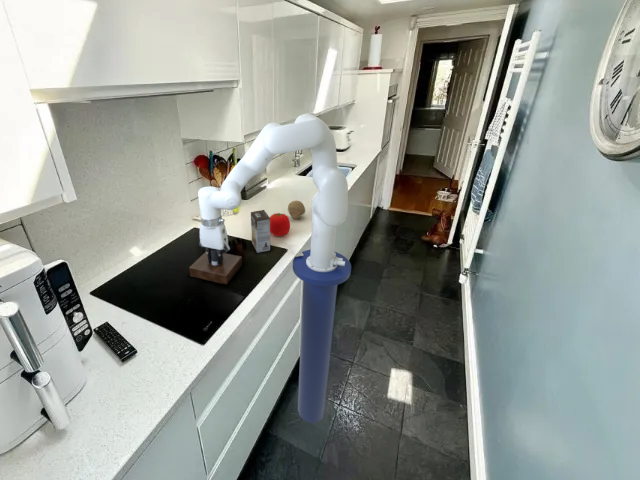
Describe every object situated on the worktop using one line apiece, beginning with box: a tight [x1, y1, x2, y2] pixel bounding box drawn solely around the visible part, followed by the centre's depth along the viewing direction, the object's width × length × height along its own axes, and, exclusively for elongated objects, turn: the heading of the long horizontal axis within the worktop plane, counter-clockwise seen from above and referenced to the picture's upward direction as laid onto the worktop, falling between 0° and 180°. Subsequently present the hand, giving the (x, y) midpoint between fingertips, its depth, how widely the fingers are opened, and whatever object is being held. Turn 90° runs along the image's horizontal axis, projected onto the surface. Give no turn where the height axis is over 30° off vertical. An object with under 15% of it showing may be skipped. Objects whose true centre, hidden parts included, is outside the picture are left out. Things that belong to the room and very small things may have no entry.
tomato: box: [269, 212, 291, 237], centre depth 146 cm, size 10×11×11 cm
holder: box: [188, 251, 243, 286], centre depth 122 cm, size 16×14×4 cm
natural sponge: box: [287, 200, 306, 220], centre depth 162 cm, size 9×9×10 cm
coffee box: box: [250, 209, 271, 254], centre depth 135 cm, size 9×6×16 cm
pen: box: [210, 248, 218, 265], centre depth 121 cm, size 3×3×9 cm
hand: (215, 261), depth 121 cm, fingers closed on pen, 3 cm apart
